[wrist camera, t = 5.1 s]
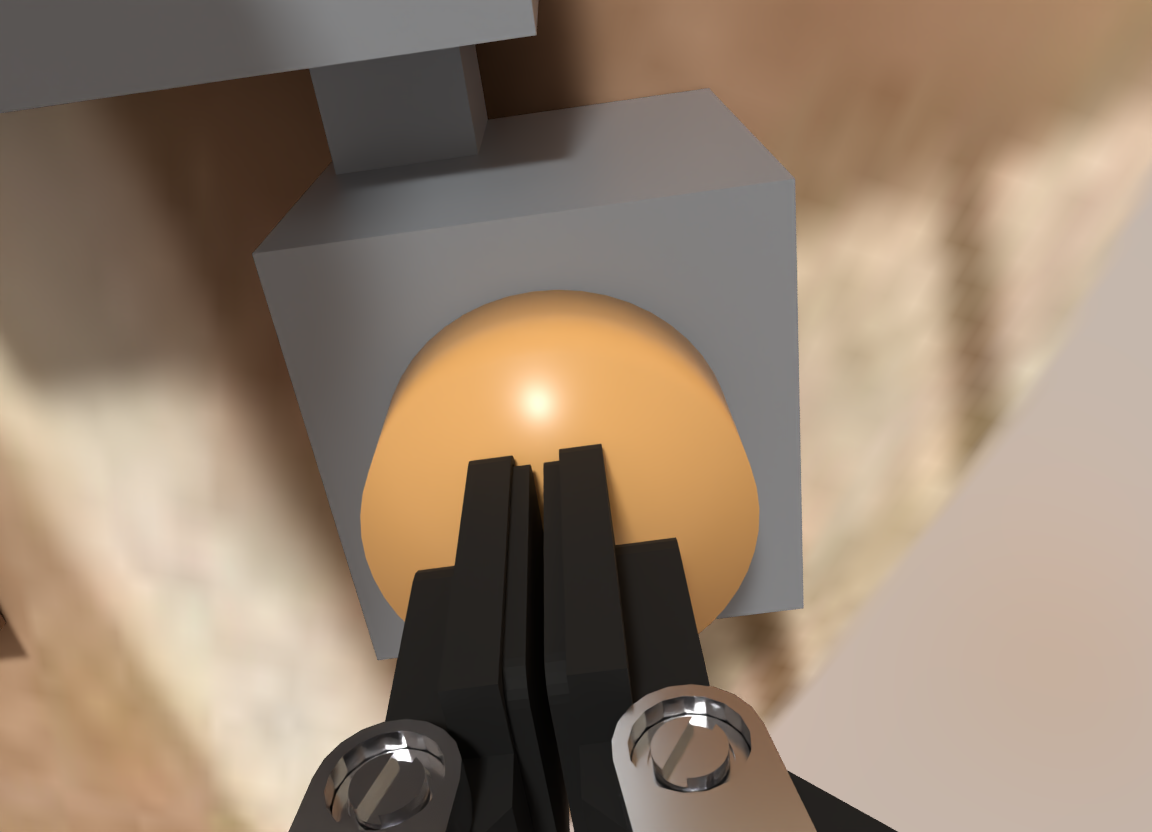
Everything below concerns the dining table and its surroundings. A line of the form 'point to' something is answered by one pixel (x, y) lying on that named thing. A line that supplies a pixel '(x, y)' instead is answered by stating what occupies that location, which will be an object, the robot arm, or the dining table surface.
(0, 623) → the pad
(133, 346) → the dining table surface
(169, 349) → the dining table surface
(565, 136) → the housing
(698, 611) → the orange egg-shaped ball
